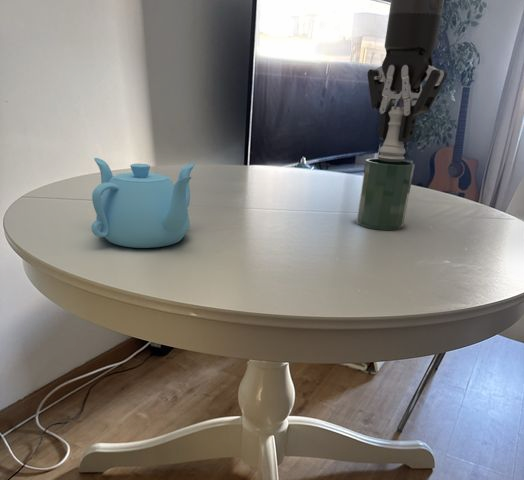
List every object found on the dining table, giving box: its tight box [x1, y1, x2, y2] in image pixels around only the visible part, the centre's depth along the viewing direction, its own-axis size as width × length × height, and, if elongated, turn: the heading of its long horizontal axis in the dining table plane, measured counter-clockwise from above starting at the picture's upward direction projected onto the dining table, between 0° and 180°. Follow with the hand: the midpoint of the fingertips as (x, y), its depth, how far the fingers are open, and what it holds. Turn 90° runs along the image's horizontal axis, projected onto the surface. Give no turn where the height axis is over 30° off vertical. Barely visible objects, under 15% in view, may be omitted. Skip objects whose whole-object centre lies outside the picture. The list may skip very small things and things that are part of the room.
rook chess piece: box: [377, 106, 406, 162], centre depth 78 cm, size 4×4×8 cm
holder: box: [356, 158, 416, 231], centre depth 83 cm, size 8×8×10 cm
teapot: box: [91, 157, 196, 249], centre depth 68 cm, size 15×15×10 cm
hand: (394, 139), depth 79 cm, fingers closed on rook chess piece, 3 cm apart
